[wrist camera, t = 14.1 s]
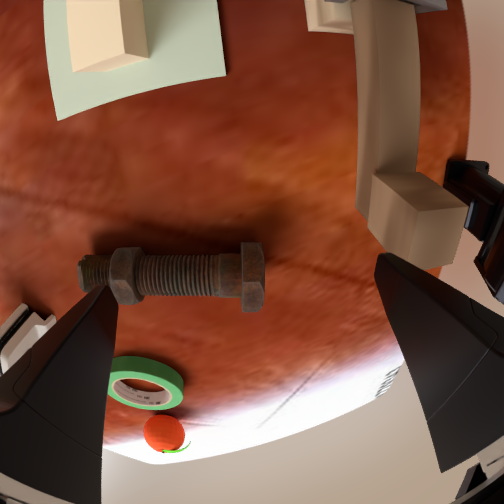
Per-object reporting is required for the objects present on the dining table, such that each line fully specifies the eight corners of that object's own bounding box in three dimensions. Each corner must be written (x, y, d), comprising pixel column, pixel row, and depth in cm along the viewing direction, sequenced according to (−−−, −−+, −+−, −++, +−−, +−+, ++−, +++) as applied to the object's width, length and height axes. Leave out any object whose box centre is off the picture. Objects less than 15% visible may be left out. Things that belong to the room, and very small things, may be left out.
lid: (208, -66, 9) (205, -105, 4) (225, 76, 16) (227, 73, 11) (50, -14, 9) (7, -27, 4) (64, 118, 16) (18, 137, 11)
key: (393, 12, 9) (475, -1, 4) (392, 203, 16) (452, 263, 11) (344, 2, 9) (417, -27, 4) (350, 207, 16) (403, 274, 11)
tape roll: (194, 367, 33) (193, 385, 31) (172, 401, 38) (172, 416, 36) (107, 343, 30) (103, 361, 27) (103, 382, 35) (99, 397, 33)
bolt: (96, 242, 24) (257, 241, 25) (99, 295, 24) (257, 298, 25) (64, 245, 18) (266, 244, 19) (69, 311, 18) (265, 317, 20)
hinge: (72, 382, 34) (40, 426, 26) (51, 366, 34) (18, 406, 26) (54, 313, 26) (0, 369, 17) (30, 294, 26) (-24, 342, 17)
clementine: (190, 409, 40) (189, 449, 34) (192, 424, 44) (193, 459, 38) (141, 406, 39) (137, 444, 33) (149, 421, 42) (146, 455, 37)
